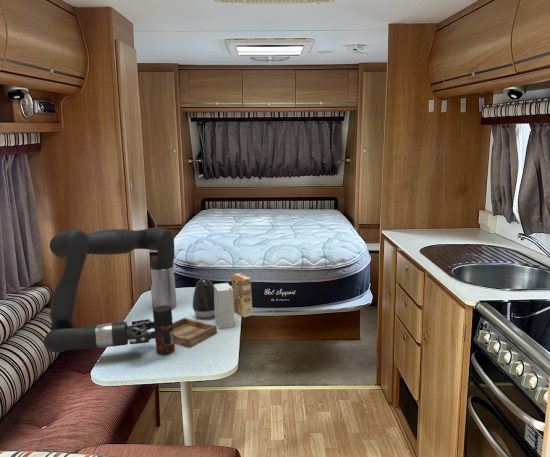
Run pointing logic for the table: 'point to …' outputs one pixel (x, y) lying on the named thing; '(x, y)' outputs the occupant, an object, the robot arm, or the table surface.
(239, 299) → the candy box
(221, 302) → the skincare box
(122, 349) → the table surface
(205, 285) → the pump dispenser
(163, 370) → the table surface
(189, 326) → the tray
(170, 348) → the deodorant
